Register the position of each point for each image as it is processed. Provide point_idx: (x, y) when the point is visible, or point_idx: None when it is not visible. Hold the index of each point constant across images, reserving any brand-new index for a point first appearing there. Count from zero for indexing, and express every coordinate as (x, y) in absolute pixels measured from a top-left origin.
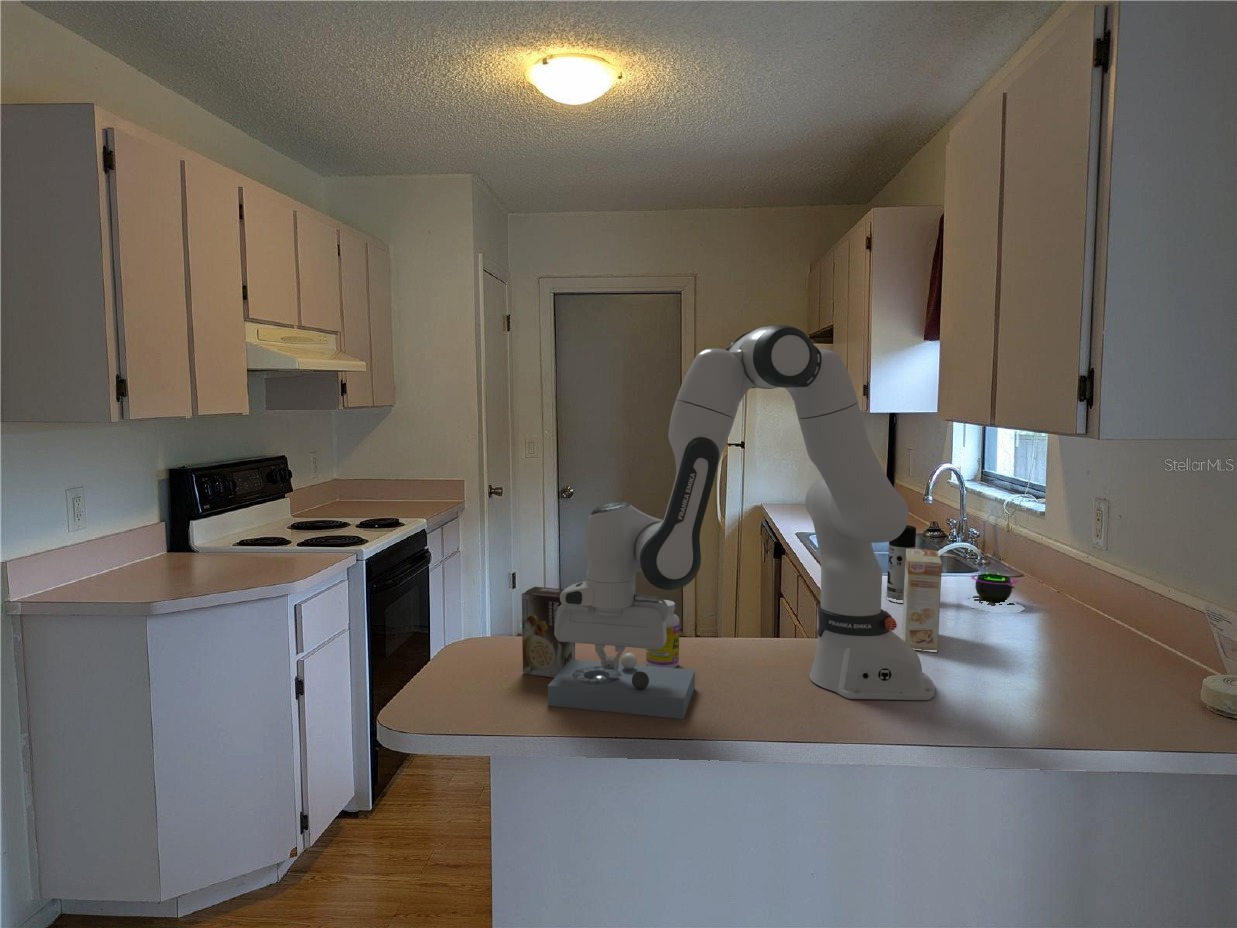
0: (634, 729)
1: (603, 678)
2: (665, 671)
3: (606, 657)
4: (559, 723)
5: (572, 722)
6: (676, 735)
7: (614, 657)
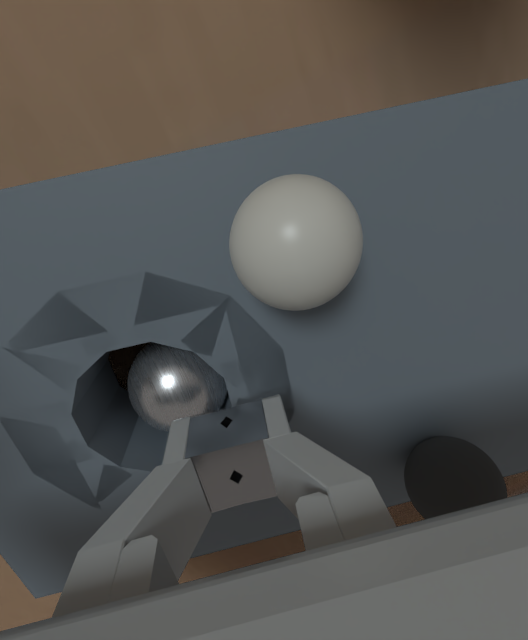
0: (403, 509)
1: (203, 410)
2: (521, 169)
3: (198, 473)
4: (193, 573)
5: (224, 554)
6: (516, 487)
7: (257, 446)
